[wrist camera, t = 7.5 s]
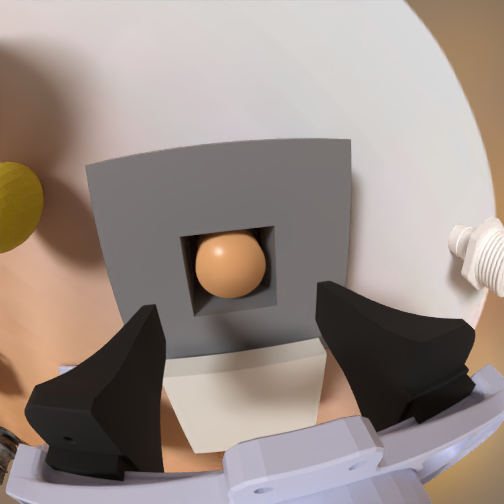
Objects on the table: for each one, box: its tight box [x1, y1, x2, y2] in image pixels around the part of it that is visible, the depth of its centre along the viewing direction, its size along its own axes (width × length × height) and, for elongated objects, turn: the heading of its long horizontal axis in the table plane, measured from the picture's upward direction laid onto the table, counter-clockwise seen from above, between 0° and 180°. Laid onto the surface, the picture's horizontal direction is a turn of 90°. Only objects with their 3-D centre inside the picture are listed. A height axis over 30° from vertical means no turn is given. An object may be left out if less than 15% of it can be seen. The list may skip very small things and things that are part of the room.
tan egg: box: [196, 228, 266, 298], centre depth 18 cm, size 4×4×4 cm
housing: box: [86, 138, 351, 360], centre depth 19 cm, size 22×14×4 cm, turn 4°
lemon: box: [0, 161, 44, 253], centre depth 12 cm, size 6×6×8 cm
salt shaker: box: [0, 427, 21, 485], centre depth 20 cm, size 6×6×12 cm
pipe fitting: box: [448, 216, 504, 297], centre depth 20 cm, size 6×7×8 cm
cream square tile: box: [163, 338, 327, 453], centre depth 18 cm, size 10×10×2 cm
